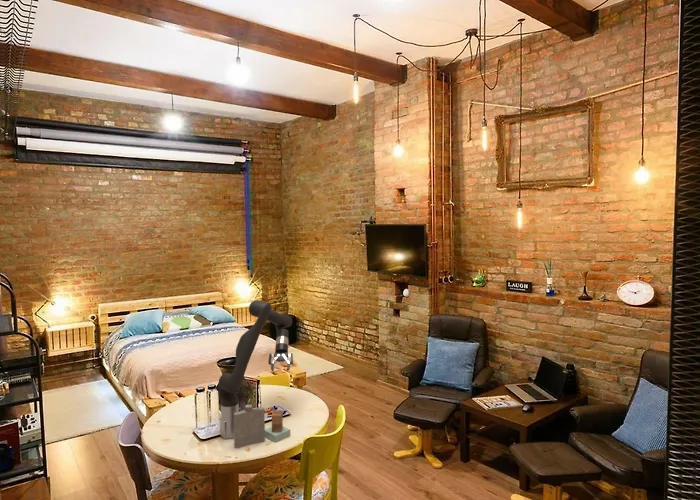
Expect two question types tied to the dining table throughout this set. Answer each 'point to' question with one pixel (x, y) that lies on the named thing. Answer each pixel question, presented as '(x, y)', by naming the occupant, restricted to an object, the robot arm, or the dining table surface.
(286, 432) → the plinth block
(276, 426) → the walnut block
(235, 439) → the hip flask
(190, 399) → the dining table surface
